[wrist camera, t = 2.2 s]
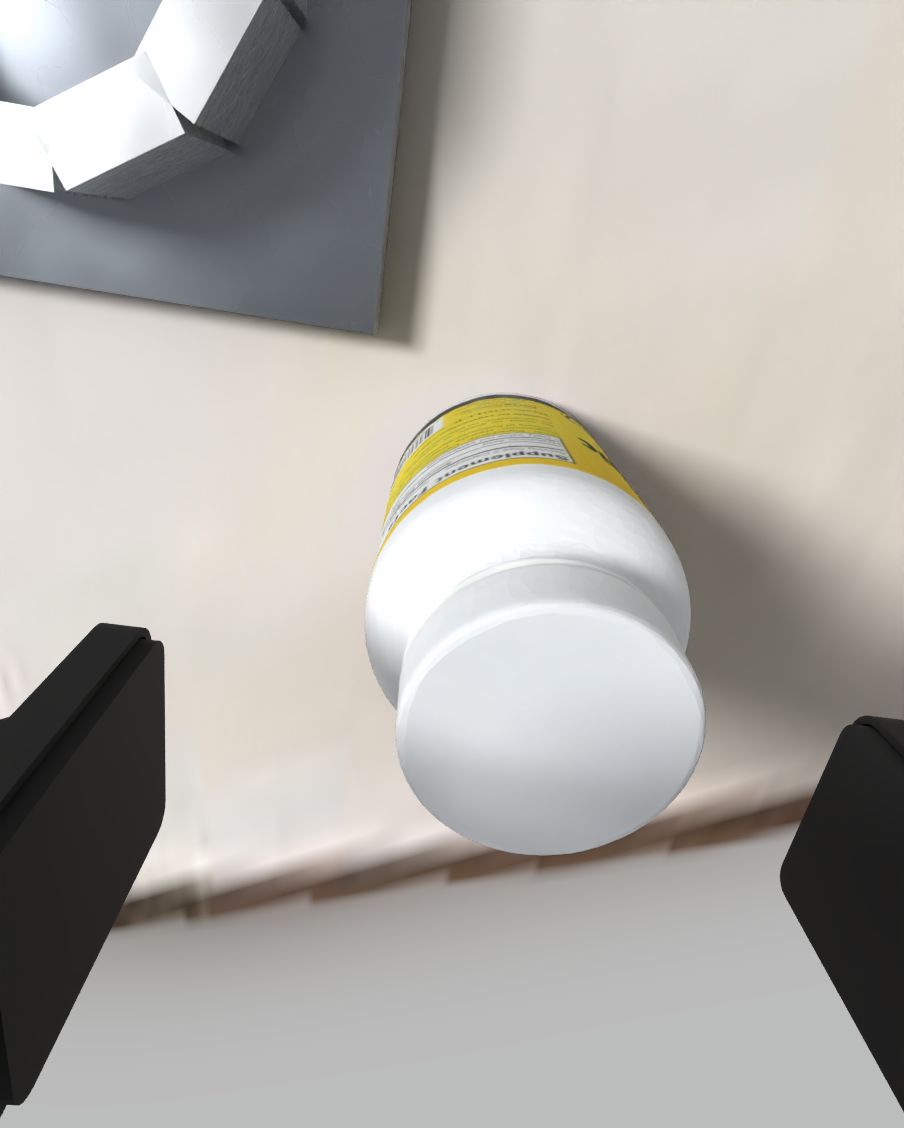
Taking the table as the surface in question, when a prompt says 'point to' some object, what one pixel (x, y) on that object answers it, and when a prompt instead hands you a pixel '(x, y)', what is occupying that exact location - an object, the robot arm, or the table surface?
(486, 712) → the supplement bottle
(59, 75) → the ring collar block
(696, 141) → the table surface
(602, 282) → the table surface
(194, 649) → the table surface
